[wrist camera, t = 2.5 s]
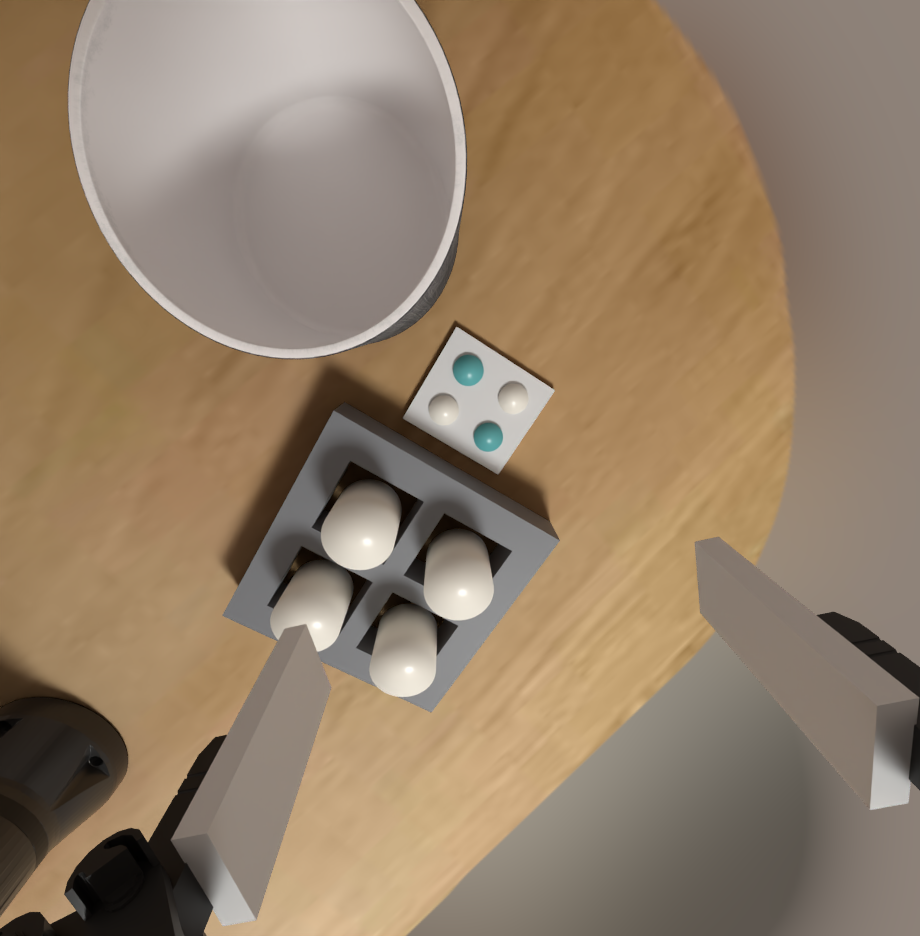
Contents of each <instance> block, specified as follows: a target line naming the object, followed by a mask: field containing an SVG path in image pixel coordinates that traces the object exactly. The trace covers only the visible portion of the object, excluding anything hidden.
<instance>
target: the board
mask: <svg viewBox="0 0 920 936" xmlns="http://www.w3.org/2000/svg"><path fill="white" fill-rule="evenodd" d="M351 461H352V462H353V463H355V464H357V465H359V466H360V467H362V468H364V469H366V470H368V471H369V472H371V473H373V474H375V475H377V476H378V477H380V478H382V479H384V480H386V481H387V482H389V483H391V484H393V485H395V486H396V487H398V488H400V489H402V490H404V491H405V492H407V493H409V494H411V495H413V496H414V497H416V498H418V499H417V501H416V503H415V504H414V506H413V507H412V509H411V511H410V512H409V514H408V515H407V517H406V518H405V520H404V522H403V523H402V525H401V526H400V528H399V530H398V532H397V536H396V540H395V544H394V548H393V551H392V553H391V554H390V556H389V557H388V558H387V559H386V560H385V561H384V562H383V563H382V564H380V565H378V566H377V567H374V568H371V569H367V570H353V569H348V568H346V569H348V570H350V571H352V572H354V573H356V574H358V575H360V576H362V577H364V578H366V579H367V580H366V582H365V583H364V585H363V587H362V588H361V590H360V591H359V593H358V594H357V596H356V598H355V599H354V601H353V602H352V604H351V606H350V607H349V609H348V610H347V613H346V615H345V618H344V621H343V624H342V627H341V630H340V633H339V635H338V637H337V639H336V641H335V642H334V643H333V644H332V645H331V646H329V647H328V648H326V649H324V650H322V651H319V652H318V655H319V658H320V660H321V662H324V663H326V664H328V665H330V666H332V667H334V668H337V669H339V670H341V671H343V672H345V673H347V674H350V675H352V676H354V677H356V678H358V679H360V680H362V681H365V682H367V683H369V684H371V685H373V686H375V687H377V686H376V685H375V684H374V683H373V681H372V679H371V676H370V672H369V667H370V662H371V657H372V653H373V649H374V644H375V640H376V635H377V631H378V628H376V627H374V626H372V625H371V624H372V623H373V621H374V620H375V618H376V617H377V615H378V614H379V612H380V611H381V609H382V607H383V606H384V604H385V603H386V601H387V600H388V598H389V597H390V595H391V594H392V592H393V593H395V594H397V595H399V596H401V597H403V598H405V599H407V600H409V601H411V602H413V603H415V604H417V605H419V606H421V607H423V608H425V609H427V610H428V611H430V612H432V613H434V614H436V613H435V612H434V611H433V610H432V609H431V608H430V607H429V606H428V604H427V602H426V600H425V597H424V579H425V568H426V563H424V562H422V561H420V560H418V559H416V558H415V557H416V556H417V554H418V553H419V551H420V550H421V548H422V546H423V545H424V543H425V542H426V540H427V539H428V537H429V536H430V534H431V533H432V531H433V530H434V528H435V527H436V525H437V524H438V522H439V521H440V519H441V517H442V516H443V514H444V513H445V514H447V515H448V516H450V517H452V518H454V519H456V520H457V521H459V522H461V523H463V524H465V525H466V526H468V527H470V528H472V529H474V530H475V531H477V532H479V533H481V534H482V535H484V536H486V537H488V538H490V539H491V540H493V541H495V542H497V543H498V545H497V546H496V547H495V549H494V550H493V552H492V553H491V554H490V556H489V562H490V568H491V573H492V579H493V585H494V594H493V598H492V600H491V603H490V604H489V606H488V607H487V608H486V609H485V610H484V611H483V612H482V613H481V614H479V615H477V616H476V617H473V618H471V619H467V620H450V619H446V618H444V619H445V620H444V621H443V622H442V624H441V625H440V627H439V628H438V629H437V654H436V675H435V678H434V680H433V682H432V684H431V685H430V686H429V687H428V688H427V689H426V690H425V691H423V692H421V693H419V694H417V695H414V696H409V697H399V698H401V699H404V700H406V701H408V702H410V703H412V704H414V705H416V706H419V707H421V708H423V709H425V710H427V711H429V712H432V711H433V710H434V708H435V707H436V706H437V704H438V703H439V702H440V700H441V699H442V698H443V696H444V695H445V694H446V692H447V691H448V690H449V688H450V687H451V686H452V684H453V683H454V682H455V680H456V679H457V677H458V676H459V675H460V673H461V672H462V671H463V669H464V668H465V667H466V665H467V664H468V663H469V661H470V660H471V659H472V657H473V656H474V655H475V653H476V652H477V651H478V649H479V648H480V647H481V645H482V644H483V643H484V641H485V640H486V639H487V637H488V636H489V635H490V633H491V632H492V631H493V629H494V628H495V627H496V625H497V624H498V623H499V621H500V620H501V619H502V617H503V616H504V615H505V613H506V612H507V611H508V609H509V608H510V607H511V605H512V604H513V603H514V601H515V600H516V599H517V597H518V596H519V595H520V593H521V592H522V591H523V589H524V588H525V587H526V585H527V584H528V583H529V581H530V580H531V578H532V577H533V576H534V574H535V573H536V572H537V570H538V569H539V568H540V566H541V565H542V564H543V562H544V561H545V560H546V558H547V557H548V556H549V554H550V553H551V552H552V550H553V549H554V548H555V546H556V545H557V544H558V542H559V541H560V540H559V538H558V536H557V534H556V532H555V530H554V528H553V526H552V525H551V523H550V521H548V520H546V519H545V518H543V517H541V516H539V515H538V514H536V513H534V512H533V511H531V510H529V509H527V508H526V507H524V506H522V505H520V504H519V503H517V502H515V501H514V500H512V499H510V498H508V497H507V496H505V495H503V494H502V493H500V492H498V491H496V490H495V489H493V488H491V487H490V486H488V485H486V484H484V483H483V482H481V481H479V480H478V479H476V478H474V477H472V476H471V475H469V474H467V473H465V472H464V471H462V470H460V469H459V468H457V467H455V466H453V465H452V464H450V463H448V462H447V461H445V460H443V459H441V458H440V457H438V456H436V455H435V454H433V453H431V452H429V451H428V450H426V449H424V448H423V447H421V446H419V445H417V444H416V443H414V442H412V441H410V440H409V439H407V438H405V437H404V436H402V435H400V434H398V433H397V432H395V431H393V430H392V429H390V428H388V427H386V426H385V425H383V424H381V423H380V422H378V421H376V420H374V419H373V418H371V417H369V416H368V415H366V414H364V413H362V412H361V411H359V410H357V409H356V408H354V407H352V406H350V405H349V404H347V403H345V402H344V403H343V404H342V405H340V406H339V407H338V408H336V409H335V410H334V411H333V413H332V415H331V417H330V418H329V420H328V422H327V424H326V426H325V428H324V429H323V431H322V433H321V435H320V437H319V439H318V441H317V442H316V444H315V446H314V448H313V450H312V452H311V453H310V455H309V457H308V459H307V461H306V463H305V464H304V466H303V468H302V470H301V472H300V474H299V476H298V477H297V479H296V481H295V483H294V485H293V487H292V488H291V490H290V492H289V494H288V496H287V498H286V499H285V501H284V503H283V505H282V507H281V509H280V511H279V512H278V514H277V516H276V518H275V520H274V522H273V523H272V525H271V527H270V529H269V531H268V533H267V534H266V536H265V538H264V540H263V542H262V544H261V546H260V547H259V549H258V551H257V553H256V555H255V557H254V558H253V560H252V562H251V564H250V566H249V568H248V569H247V571H246V573H245V575H244V577H243V579H242V581H241V582H240V584H239V586H238V588H237V590H236V592H235V593H234V595H233V597H232V599H231V601H230V603H229V604H228V606H227V608H226V610H225V612H224V614H223V615H222V616H224V617H226V618H229V619H231V620H233V621H235V622H237V623H239V624H241V625H244V626H246V627H248V628H250V629H252V630H254V631H257V632H259V633H261V634H263V635H265V636H267V637H270V638H272V639H274V640H276V641H278V639H277V638H276V637H275V635H274V633H273V632H272V629H271V624H270V618H271V614H272V611H273V609H274V607H275V606H276V604H277V602H278V601H279V599H280V597H281V596H282V594H283V592H284V591H285V589H286V588H287V586H288V584H286V583H284V582H282V581H283V580H284V578H285V576H286V574H287V573H288V571H289V569H290V568H291V566H292V564H293V562H294V561H295V559H296V557H297V555H298V554H299V552H300V550H301V548H302V547H305V548H307V549H309V550H311V551H313V552H315V553H316V554H318V555H320V556H322V557H324V558H326V559H328V560H330V561H332V562H334V563H336V562H335V561H333V560H332V559H331V558H330V557H329V556H328V554H327V553H326V551H325V550H324V547H323V545H322V541H321V529H322V525H323V523H324V521H325V519H326V517H327V516H328V514H329V512H328V511H326V510H324V508H325V506H326V505H327V503H328V501H329V499H330V498H331V496H332V494H333V492H334V491H335V489H336V487H337V485H338V484H339V482H340V480H341V478H342V477H343V475H344V473H345V471H346V470H347V468H348V466H349V464H350V463H351ZM336 564H337V563H336ZM338 565H339V564H338ZM340 566H341V565H340ZM342 567H343V566H342ZM344 568H345V567H344ZM436 615H438V614H436ZM438 616H439V615H438ZM440 617H441V616H440ZM442 618H443V617H442Z"/></svg>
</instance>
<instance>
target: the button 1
mask: <svg viewBox="0 0 920 936" xmlns="http://www.w3.org/2000/svg"><path fill="white" fill-rule="evenodd" d="M353 591H354V585H353V581H352V578H351V576H350V574H349V573H348V572H347V571H346V570H345V569H344V568H343V567H342V566H340V565H338V564H336V563H334V562H332V561H329V560H313V561H310V562H307V563H305V564H304V565H302V566H301V567H300V568H299V569H298V570H297V571H296V573H295V574H294V576H293V578H292V579H291V581H290V583H289V584H288V586H287V588H286V589H285V591H284V592H283V594H282V596H281V597H280V599H279V601H278V602H277V604H276V606H275V607H274V609H273V611H272V614H271V618H270V624H271V629H272V632H273V633H274V635H275V637H276V638H277V639H278V640H279V638H280V636H281V634H282V632H283V630H284V629H285V628H289V627H294V626H298V625H303V624H307V627H308V630H309V632H310V635H311V637H312V640H313V642H314V645H315V647H316V650H317V652H319V651H322V650H324V649H326V648H328V647H329V646H331V645H332V644H333V643H334V642H335V641H336V639H337V637H338V635H339V633H340V630H341V627H342V624H343V621H344V618H345V615H346V613H347V610H348V607H349V604H350V601H351V598H352V595H353Z"/></svg>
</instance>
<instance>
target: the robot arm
mask: <svg viewBox="0 0 920 936" xmlns="http://www.w3.org/2000/svg"><path fill="white" fill-rule="evenodd" d="M695 551H696V564H697V577H698V590H699V603H700V613H701V614H702V615H703V616H704V618H705V619H706V620H707V621H708V622H709V623H710V625H711V626H712V627H713V628H714V629H715V630H716V632H717V633H718V634H719V635H720V636H721V637H722V639H724V641H725V642H726V643H727V644H728V645H729V647H730V648H731V649H732V650H733V651H734V652H735V653H736V655H737V656H738V657H739V658H740V659H741V661H742V662H743V663H744V664H745V665H746V666H747V668H748V669H749V670H750V671H751V672H752V673H753V675H755V677H756V678H757V679H758V680H759V682H760V683H761V684H762V685H763V686H764V687H765V688H766V690H767V691H768V692H769V693H770V694H771V695H772V697H773V698H774V699H775V700H776V701H777V702H778V704H779V705H780V706H781V707H782V708H783V709H784V710H785V712H786V713H787V714H788V715H789V716H790V718H791V719H792V720H793V721H794V722H795V723H796V724H797V726H798V727H799V728H800V729H801V730H802V731H803V733H804V734H805V735H806V736H807V737H808V738H809V740H810V741H811V742H812V743H813V744H814V745H815V747H816V748H817V749H818V750H819V751H820V752H821V754H822V755H823V756H824V757H825V758H826V759H827V760H828V762H829V763H830V764H831V765H832V766H833V767H834V769H835V770H836V771H837V772H838V773H839V774H840V776H841V777H842V778H843V779H844V780H845V781H846V783H847V784H848V785H849V786H850V787H851V788H852V790H853V791H854V792H855V793H856V794H857V795H858V796H859V798H860V799H861V800H862V801H863V802H864V804H865V805H866V806H867V807H868V808H869V809H870V810H872V809H878V808H884V807H889V806H895V805H900V804H906V803H908V802H909V791H910V782H912V783H913V784H914V785H915V786H916V787H917V788H918V789H919V790H920V667H919V666H917V665H916V664H915V663H913V662H912V661H911V660H909V659H908V658H907V657H905V656H904V655H903V654H901V653H897V652H896V650H895V649H894V648H893V647H892V646H890V645H889V644H887V643H886V642H885V641H883V640H882V641H881V640H880V639H879V637H878V636H877V635H875V634H874V633H873V632H871V631H870V630H869V629H867V628H866V627H864V626H863V625H862V624H860V623H859V622H857V621H854V620H852V619H850V618H847V617H845V616H843V615H840V614H838V613H836V612H830V613H825V614H820V615H815V614H814V613H813V612H812V611H810V610H809V609H808V608H807V607H805V606H804V605H803V604H801V603H800V602H799V601H798V600H797V599H795V598H794V597H793V596H791V595H790V594H789V593H788V592H786V591H785V590H784V589H783V588H782V587H780V586H779V585H778V584H777V583H775V582H774V581H773V580H772V579H770V578H769V577H768V576H767V575H765V574H764V573H763V572H762V571H760V570H759V569H758V568H757V567H755V566H754V565H753V564H752V563H750V562H749V561H748V560H747V559H745V558H744V557H743V556H742V555H740V554H739V553H738V552H737V551H736V550H734V549H733V548H732V547H731V546H729V545H728V544H727V543H726V542H724V541H723V540H722V539H721V538H719V537H715V538H711V539H706V540H701V541H696V542H695ZM330 690H331V685H330V683H329V680H328V678H327V675H326V673H325V670H324V668H323V665H322V663H321V660H320V658H319V655H318V652H317V650H316V647H315V645H314V642H313V640H312V637H311V635H310V632H309V630H308V627H307V624H303V625H298V626H294V627H289V628H285V629H284V630H283V632H282V634H281V636H280V638H279V640H278V642H277V643H276V645H275V647H274V649H273V651H272V653H271V655H270V656H269V658H268V660H267V662H266V664H265V666H264V668H263V669H262V671H261V673H260V675H259V677H258V679H257V681H256V682H255V684H254V686H253V688H252V690H251V692H250V694H249V695H248V697H247V699H246V701H245V703H244V705H243V707H242V709H241V710H240V712H239V714H238V716H237V718H236V720H235V722H234V723H233V725H232V727H231V729H230V731H229V733H228V735H224V736H219V737H215V738H214V739H213V740H212V741H211V742H210V743H209V745H208V746H207V747H206V748H205V749H204V750H203V751H202V752H201V753H200V754H199V755H198V757H197V759H196V760H195V762H194V764H193V766H192V767H191V769H190V771H189V773H188V774H187V779H184V781H183V783H182V785H181V786H180V788H179V790H178V794H177V795H175V797H174V798H173V800H172V802H171V804H170V805H169V807H168V809H167V811H166V812H165V814H164V816H163V817H162V819H161V821H160V823H159V824H158V826H157V828H156V830H155V831H154V833H153V835H152V836H151V838H150V840H149V842H147V841H146V839H145V838H144V836H143V834H142V833H141V831H140V830H139V829H133V828H129V829H126V830H122V831H119V832H117V833H115V834H113V835H112V836H110V837H108V838H106V839H105V840H103V841H102V842H101V843H100V844H98V845H97V846H96V847H95V848H94V849H92V850H91V851H90V852H89V853H88V854H87V855H86V856H85V858H84V859H83V860H82V861H81V862H80V863H79V864H78V865H77V867H76V868H75V870H74V872H73V873H72V875H71V877H70V878H69V880H68V882H67V886H66V889H65V893H64V895H65V896H66V897H67V899H68V900H69V901H70V903H71V904H72V905H73V907H74V908H75V909H76V911H75V912H73V913H71V914H70V915H68V916H66V917H64V918H62V919H60V920H58V921H56V922H54V923H52V924H49V923H48V922H47V920H46V919H45V918H44V917H43V915H42V914H41V913H40V912H29V913H27V914H24V915H22V916H20V917H17V918H15V919H14V920H12V921H11V922H9V923H8V924H6V925H5V926H4V927H2V928H1V929H0V936H206V934H205V933H204V929H205V927H206V924H207V922H208V919H209V917H210V914H211V912H212V909H213V911H214V912H215V914H216V916H217V917H218V919H219V921H220V922H221V924H222V926H227V925H232V924H238V923H243V922H249V921H255V920H257V917H258V913H259V910H260V907H261V904H262V901H263V898H264V895H265V892H266V889H267V886H268V882H269V879H270V876H271V873H272V870H273V867H274V864H275V861H276V858H277V855H278V852H279V848H280V845H281V842H282V839H283V836H284V833H285V830H286V827H287V824H288V821H289V817H290V814H291V811H292V808H293V805H294V802H295V799H296V796H297V793H298V790H299V786H300V783H301V780H302V777H303V774H304V771H305V768H306V765H307V762H308V759H309V756H310V752H311V749H312V746H313V743H314V740H315V737H316V734H317V731H318V728H319V725H320V721H321V718H322V715H323V712H324V709H325V706H326V703H327V700H328V697H329V694H330ZM127 767H128V755H127V751H126V748H125V745H124V743H123V741H122V739H121V738H120V736H119V735H118V733H117V732H116V731H115V730H114V728H113V727H112V726H111V725H110V724H109V723H107V722H106V721H105V720H104V719H103V718H101V717H100V716H99V715H97V714H95V713H94V712H92V711H90V710H88V709H86V708H84V707H82V706H80V705H77V704H75V703H72V702H68V701H64V700H60V699H54V698H44V697H34V698H26V699H21V700H17V701H14V702H11V703H9V704H6V705H5V706H3V707H1V708H0V917H1V915H2V914H3V913H4V911H5V910H6V909H7V907H8V906H9V905H10V903H11V902H12V901H13V899H14V898H15V896H16V895H17V894H18V892H19V891H20V890H21V888H22V887H23V886H24V884H25V883H26V882H27V880H28V879H29V878H30V876H31V875H32V873H33V872H34V871H35V869H36V868H37V867H38V865H39V864H40V863H41V862H42V860H43V859H44V858H45V856H46V855H47V854H48V853H49V851H50V850H51V849H53V848H54V847H55V846H56V845H57V844H58V843H60V842H61V841H62V840H63V839H64V838H66V837H67V836H68V835H69V834H70V833H71V832H73V831H74V830H75V829H76V828H77V827H78V826H80V825H81V824H82V823H83V822H84V821H86V820H87V819H88V818H89V817H90V816H91V815H93V814H94V813H95V812H96V811H97V810H98V809H100V808H101V807H102V806H103V805H104V804H105V803H106V802H107V801H108V800H109V798H110V797H111V796H112V794H113V793H114V791H115V790H116V789H117V787H118V786H119V784H120V783H121V782H122V780H123V778H124V777H125V774H126V772H127Z"/></svg>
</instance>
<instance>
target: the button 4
mask: <svg viewBox="0 0 920 936" xmlns="http://www.w3.org/2000/svg"><path fill="white" fill-rule="evenodd" d="M493 594H494V585H493V579H492V573H491V568H490V562H489V556H488V550H487V547H486V545H485V543H484V541H483V540H482V539H481V538H480V537H479V536H478V535H477V534H475V533H473V532H471V531H469V530H465V529H450V530H447V531H444V532H442V533H440V534H439V535H437V536H436V537H435V538H434V539H433V540H432V542H431V543H430V545H429V547H428V550H427V557H426V568H425V579H424V597H425V600H426V602H427V604H428V606H429V607H430V608H431V609H432V610H433V611H434V612H435V613H436V614H438V615H439V616H441V617H443V618H446V619H450V620H467V619H471V618H473V617H476V616H477V615H479V614H481V613H482V612H483V611H484V610H485V609H486V608H487V607H488V606H489V604H490V603H491V600H492V598H493Z"/></svg>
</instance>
